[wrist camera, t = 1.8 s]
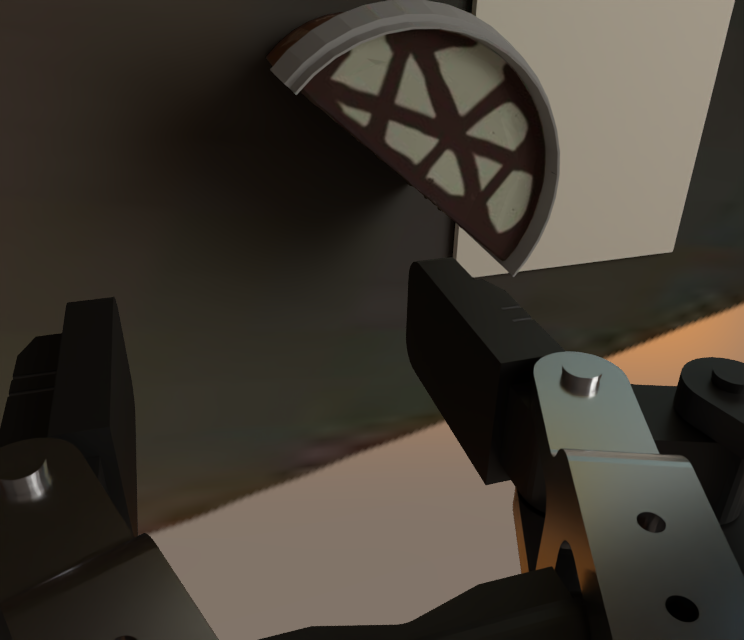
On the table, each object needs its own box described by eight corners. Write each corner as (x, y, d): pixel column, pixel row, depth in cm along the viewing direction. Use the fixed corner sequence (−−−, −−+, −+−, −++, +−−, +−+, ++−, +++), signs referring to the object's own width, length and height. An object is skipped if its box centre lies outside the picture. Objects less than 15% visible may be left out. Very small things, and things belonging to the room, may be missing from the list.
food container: (513, 102, 35) (633, 162, 27) (431, 198, 36) (521, 284, 28) (329, -91, 29) (413, -90, 20) (237, 34, 30) (280, 82, 22)
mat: (451, 275, 39) (454, 279, 39) (489, -223, 28) (495, -226, 28) (667, 248, 43) (672, 251, 42) (776, -204, 32) (785, -205, 31)
